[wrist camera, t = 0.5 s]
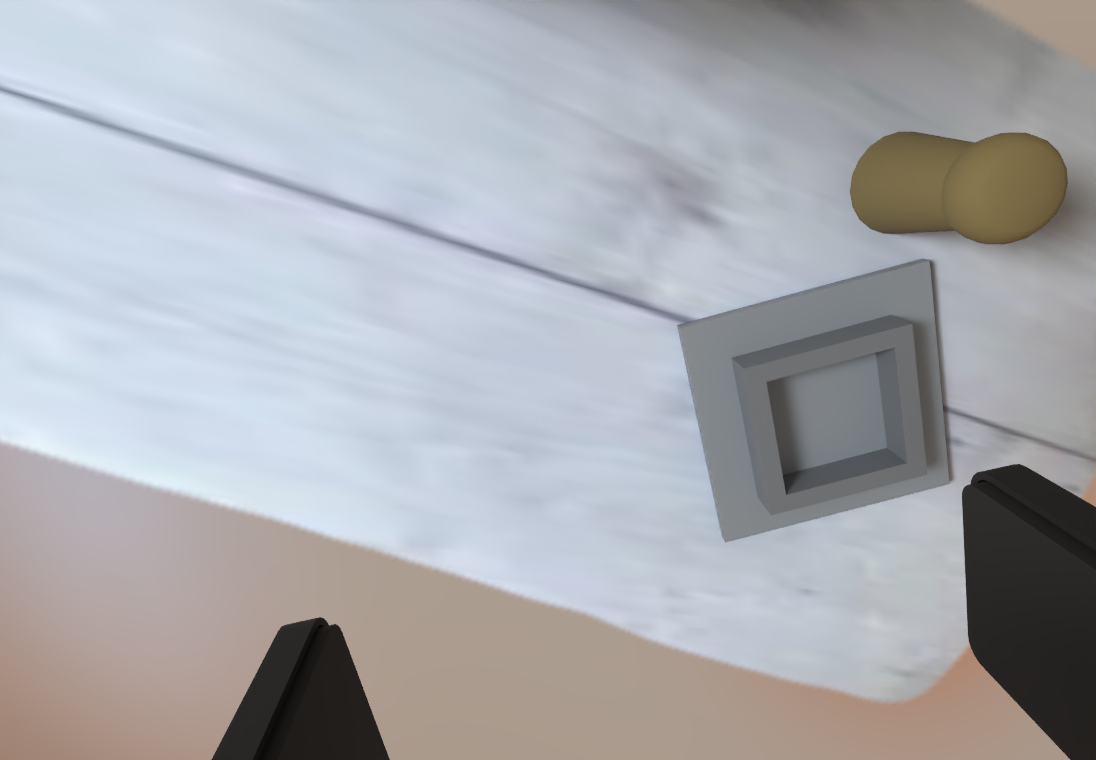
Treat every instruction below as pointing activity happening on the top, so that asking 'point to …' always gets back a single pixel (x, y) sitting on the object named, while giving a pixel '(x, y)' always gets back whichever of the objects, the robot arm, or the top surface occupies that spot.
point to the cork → (959, 185)
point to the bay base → (819, 400)
